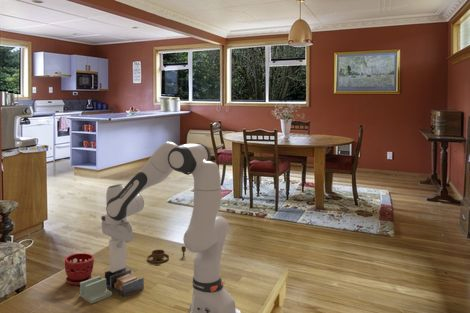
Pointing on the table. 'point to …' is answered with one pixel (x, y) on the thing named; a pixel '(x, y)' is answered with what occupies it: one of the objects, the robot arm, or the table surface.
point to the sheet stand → (94, 289)
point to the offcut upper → (126, 279)
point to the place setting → (161, 256)
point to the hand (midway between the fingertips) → (117, 246)
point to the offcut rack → (126, 288)
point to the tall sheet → (117, 255)
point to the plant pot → (79, 268)
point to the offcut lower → (118, 286)
